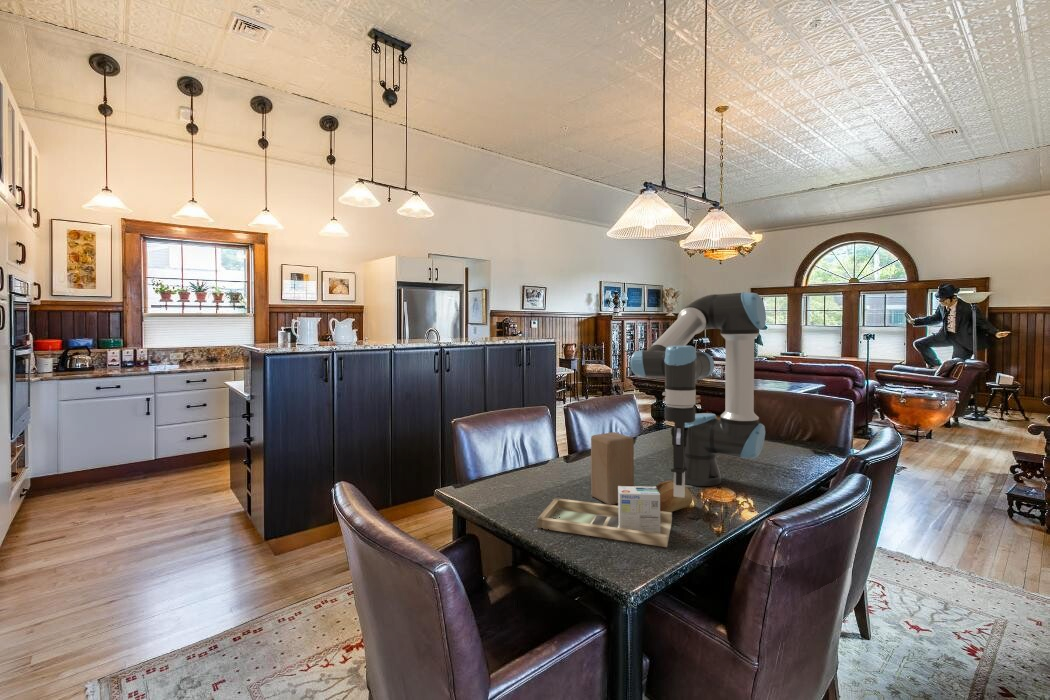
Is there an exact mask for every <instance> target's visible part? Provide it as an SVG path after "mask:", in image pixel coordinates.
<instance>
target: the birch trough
mask: <svg viewBox="0 0 1050 700" xmlns="http://www.w3.org/2000/svg"><path fill="white" fill-rule="evenodd" d="M559 508H560V509H562V510H559ZM565 509H566V510H565ZM557 510H558V511H557ZM559 511H560V512H559ZM557 513H558V514H557ZM556 514H557V515H556ZM559 514H560V515H559ZM553 515H556V516H554V518H556V519H553V518H551V517H552V516H553ZM559 517H560V518H559ZM672 521H673V512H665V511H660V534H659V533H652V532H644V531H637V530H630V529H623V528H619V524H618V505H616V504H612V505H608V504H606V503H599V502H592V501H591V502H590V501H582V500H574V499H565V498H557V497H555V498H554V499H553V500H552V501H551V502H550V503H549V504H548V506H547V507H546V508H545V509H544V510H543V511H542V512H541V514H540V515H539V516H538V517H537V518H536V529H541V528H543V530H548V529H549V530H550V531H557V532H563V533H569V534H575V535H576V534H577V535H583V536H587V537H588V536H591V537H595V538H596V537H597V538H603V539H609V540H610V539H611V540H615V541H623V542H629V543H635V544H643V545H649V546H650V545H651V546H657V547H664V548H668V545H669V544H668V543H669V539H670V533H671V527H672Z"/></svg>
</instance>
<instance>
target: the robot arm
mask: <svg viewBox="0 0 1050 700" xmlns="http://www.w3.org/2000/svg"><path fill="white" fill-rule="evenodd" d="M765 307H766V306H765V303H764V301H763V298H762V297H761V295H759V294H758V293H757V292H737V293H736V292H735V293H734V292H733V293H720V294H719V293H717V294H716V293H715V294H708V295H704V296H701V297H700V298H698V299H696V300H694V301H692V302H690V303H689V304H688V305H686V306H685V307H684V308H683V309H681V310H680V312H679V313H678V315H677V319H676V320H675V321H674V322H673V323H672V324H671V325H670V326H669V327H668V328H667V329H666V330H665V331H664V333H663V334H661V335H660V336H659V337H658V338H657V339H656V341H654V342H653V343H652V344H651V346H650V347H648V349H646V350H644V349H643V350H635V351H634V352H633V353H632V354H631V357H630V368H631V372H632V374H634V375H635V376H638V377H645V378H647V377H648V378H664V391H662V394H661V395H662V396H664V404H666V405H665V406H664V420H665V421H666V422H670V423H673V426H672V427H671V429H670V433H671V437H672V438H671V445H672V447H673V455H672V456H673V457H672V458H673V460H672V461H673V467H672V468H670V472H672V473H673V481H674V492H673V496H674V497H682V498H685V486H686V485H690V486H695V487H697V486H698V487H714V486H718V485H720V484H721V483H722V475H721V472H720V468H719V465H718V462H717V454H719V455H724V456H730V457H736V458H740V459H751V460H753V459H756V458H758V457H759V455H760V453H761V452H762V450H763V447H764V442H765V440H766V439H765V437H766V427H765V425H764V424H763V423H761V422H760V417H759V416H758V415H757V414H756V413H755V411H754V410H755V409H754V407H755V406H754V405H755V404H754V403H755V401H754V400H755V396H754V393H755V339H756V338H757V337H758V336H759V335H760V330H762V329H764V328H765V326H766V324H767V323H766V321H767V311H766V308H765ZM712 329H713V330H714V329H715V330H720V336H722V338H723V339H724V340H725V372H724V373H725V377H724V378H725V379H724V380H725V381H724V382H725V388H724V389H725V394H724V395H725V399H724V400H725V402H724V403H725V407H724V408H725V410H724V411H723V412H722V413H721V414H720V419H719V418H717V415H716V414H715V413H712V412H711V413H709V412H706V413H705V412H703V413H696V408H695V406H696V402H697V401H696V399H697V398H696V397H697V395H696V393H697V391H696V381H697V380H705V378H708V377H709V376H711V374H712V373H713V372H714V370H715V361H714V358H713V357H712V356H711V355H710V354H709V353H707V352H705V351H696V350H697V349H696V347H695V346H694V345H693V346H692V345H688V343H689V342H690V341H691V340H692V339H693V338H694V337H695V335H697V334H701V333H702V332H703V331H704V330H712Z"/></svg>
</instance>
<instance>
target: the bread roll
mask: <svg viewBox="0 0 1050 700" xmlns="http://www.w3.org/2000/svg"><path fill="white" fill-rule="evenodd" d="M655 486H656V488H657V490H658V492H659V493H660V511H665V512H672V513H673V512H676V511H679V510H681V509H686V508H688V507H690V505H691V504H692V503H693V496H692V493H691V491H690V490H689V488H688V487H687V486H686V485H685V498H682V497H674V496H673V492H674V480H673V481H672V480H665V481H661V482H659V483H658V484H657V485H655Z"/></svg>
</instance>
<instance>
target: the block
mask: <svg viewBox="0 0 1050 700" xmlns="http://www.w3.org/2000/svg"><path fill="white" fill-rule="evenodd" d="M634 442H635V441H634V438H633V437H631V436H629V435H625V434H622V433H619V432H615V431H612V432H606V433H599V434H593V435H591V436H590V474H591V475H590V481H591V482H590V483H591V485H590V486H591V487H590V489H591V492H590V493H591V497H594V498H595V499H597V500H599V501H600V502H603V504H608V505H616V504H617V505H618V486H634V485H635V479H634V470H635V468H634V467H635V465H634V463H635V462H634V461H635V458H634V454H635V452H634V451H635V448H634V447H635V445H634Z"/></svg>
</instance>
